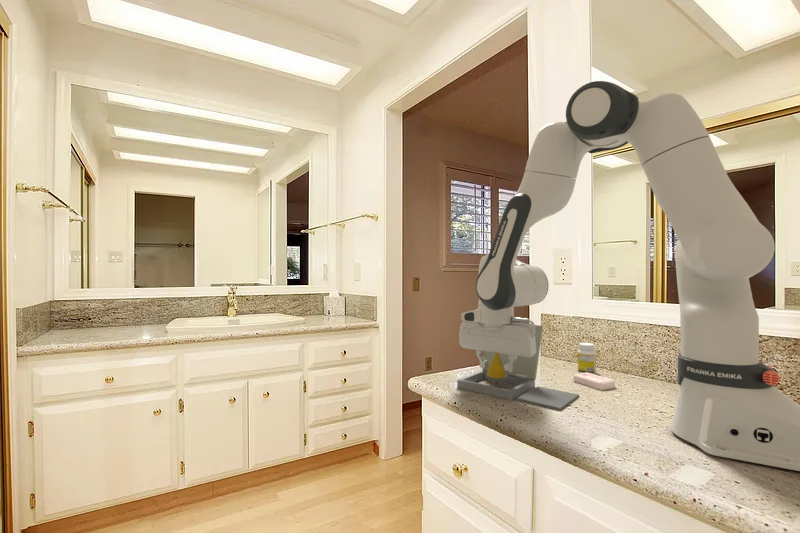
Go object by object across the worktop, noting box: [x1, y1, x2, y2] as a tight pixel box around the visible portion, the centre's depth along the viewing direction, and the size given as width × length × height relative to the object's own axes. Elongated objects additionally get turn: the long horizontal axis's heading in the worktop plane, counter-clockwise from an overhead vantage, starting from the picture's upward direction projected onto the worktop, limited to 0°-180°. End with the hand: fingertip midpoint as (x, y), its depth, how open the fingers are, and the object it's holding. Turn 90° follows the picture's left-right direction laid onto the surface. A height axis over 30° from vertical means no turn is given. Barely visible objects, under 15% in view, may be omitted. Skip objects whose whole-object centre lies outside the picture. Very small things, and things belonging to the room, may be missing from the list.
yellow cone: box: [486, 352, 507, 387], centre depth 103 cm, size 5×5×10 cm
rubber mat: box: [516, 386, 580, 411], centre depth 95 cm, size 10×12×1 cm
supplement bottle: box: [577, 342, 597, 375], centre depth 118 cm, size 5×5×8 cm
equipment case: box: [456, 324, 544, 401], centre depth 107 cm, size 15×20×15 cm
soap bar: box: [572, 372, 616, 391], centre depth 106 cm, size 5×9×2 cm, turn 24°
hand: (496, 369), depth 104 cm, fingers open, 5 cm apart
